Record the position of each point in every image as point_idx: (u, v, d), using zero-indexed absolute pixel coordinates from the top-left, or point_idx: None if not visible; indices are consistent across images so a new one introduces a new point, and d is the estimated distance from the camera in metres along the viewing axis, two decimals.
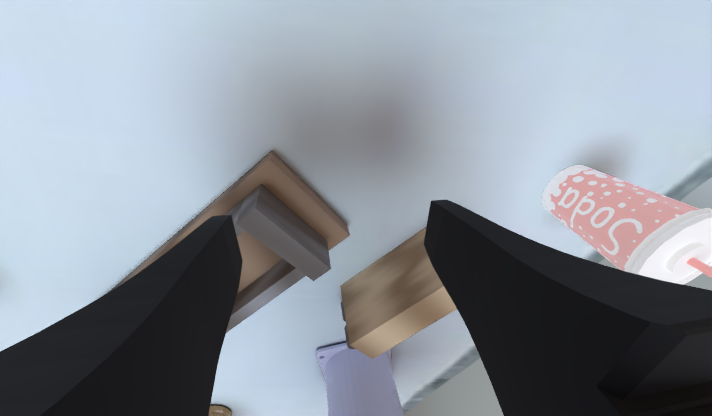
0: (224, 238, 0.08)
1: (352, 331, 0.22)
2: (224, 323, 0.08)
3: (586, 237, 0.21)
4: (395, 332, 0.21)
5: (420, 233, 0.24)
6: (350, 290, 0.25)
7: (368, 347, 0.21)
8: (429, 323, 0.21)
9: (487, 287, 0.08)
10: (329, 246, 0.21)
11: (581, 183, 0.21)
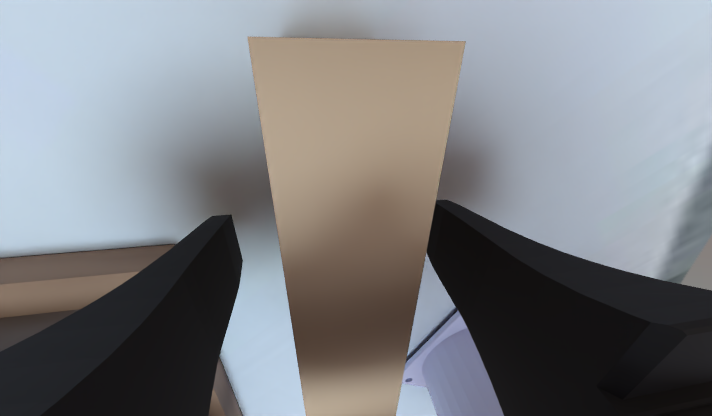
0: (224, 238, 0.08)
1: None
2: (224, 323, 0.08)
3: None
4: (357, 386, 0.08)
5: None
6: None
7: None
8: (405, 329, 0.07)
9: (487, 287, 0.08)
10: None
11: None
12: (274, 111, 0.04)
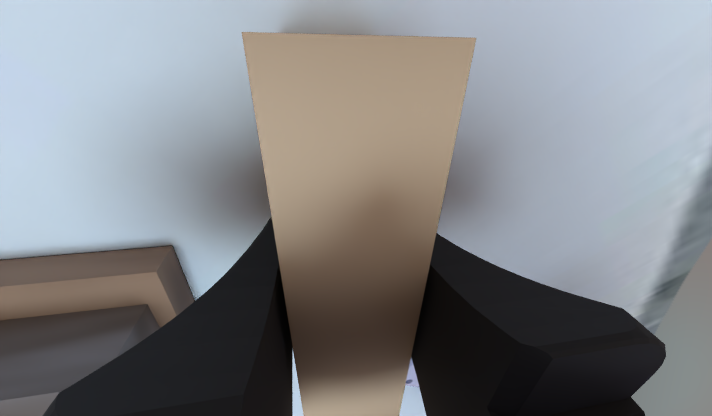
0: None
1: None
2: None
3: None
4: (358, 394, 0.08)
5: None
6: None
7: None
8: (408, 338, 0.07)
9: None
10: (164, 306, 0.11)
11: None
12: (271, 112, 0.04)
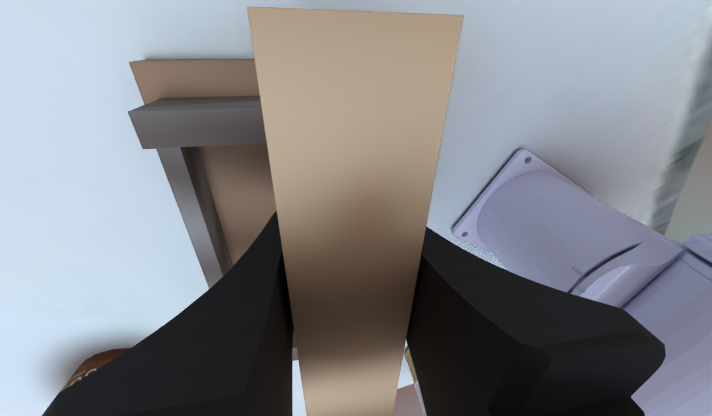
0: None
1: None
2: None
3: None
4: (355, 372, 0.08)
5: None
6: None
7: (348, 413, 0.10)
8: (404, 314, 0.07)
9: (416, 296, 0.07)
10: None
11: None
12: (273, 84, 0.04)
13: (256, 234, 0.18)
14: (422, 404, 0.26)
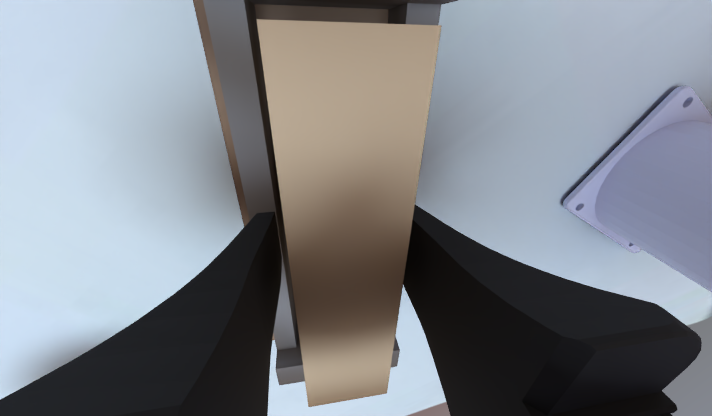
0: (272, 234, 0.09)
1: None
2: (273, 317, 0.08)
3: None
4: (352, 350, 0.09)
5: None
6: None
7: (345, 391, 0.10)
8: (395, 294, 0.08)
9: (438, 293, 0.07)
10: None
11: None
12: (278, 85, 0.05)
13: None
14: None
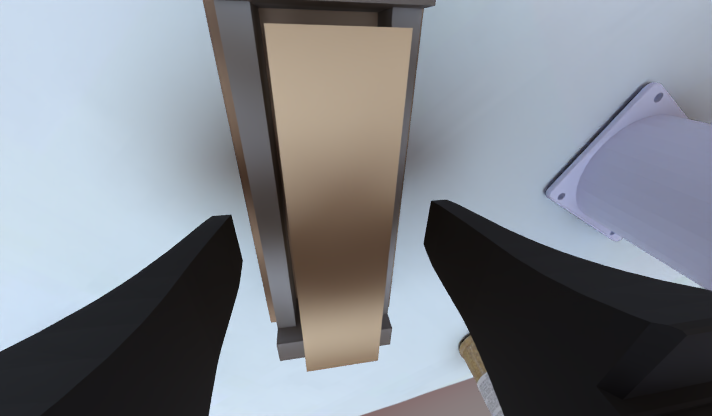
0: (224, 238, 0.08)
1: None
2: (224, 323, 0.08)
3: None
4: (345, 315, 0.10)
5: None
6: None
7: (340, 356, 0.11)
8: (382, 263, 0.09)
9: (487, 287, 0.08)
10: None
11: None
12: (281, 76, 0.06)
13: None
14: (492, 405, 0.22)
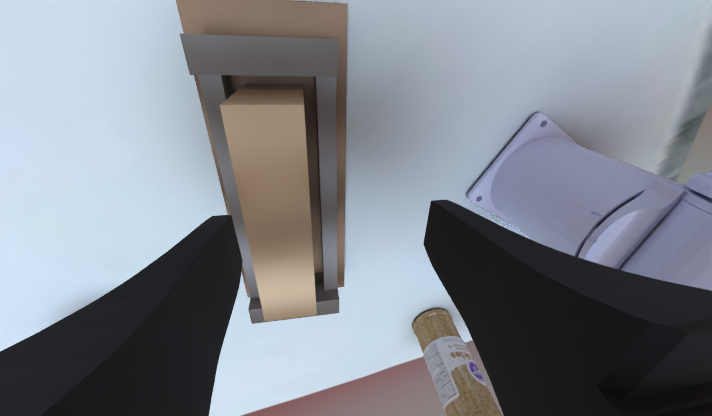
0: (224, 238, 0.08)
1: None
2: (224, 323, 0.08)
3: None
4: (287, 279, 0.15)
5: None
6: None
7: (288, 310, 0.16)
8: (308, 241, 0.14)
9: (487, 287, 0.08)
10: (341, 44, 0.15)
11: None
12: (231, 130, 0.11)
13: None
14: (431, 369, 0.27)
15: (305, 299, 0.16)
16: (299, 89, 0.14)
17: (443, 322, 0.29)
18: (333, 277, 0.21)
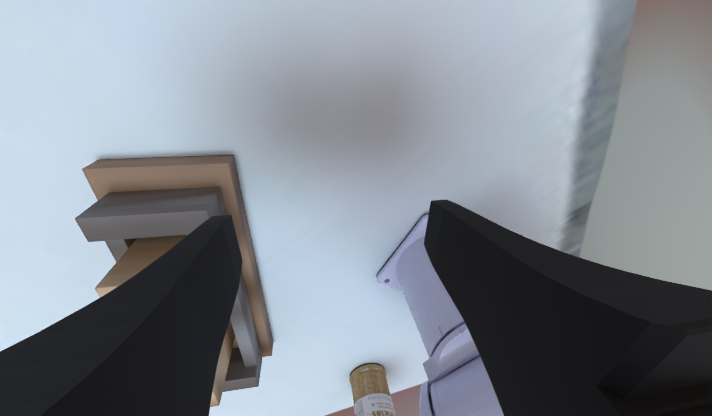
0: (224, 238, 0.08)
1: None
2: (224, 323, 0.08)
3: None
4: None
5: None
6: None
7: None
8: None
9: (487, 287, 0.08)
10: (229, 189, 0.18)
11: None
12: None
13: None
14: None
15: None
16: None
17: (373, 378, 0.32)
18: (251, 357, 0.24)
